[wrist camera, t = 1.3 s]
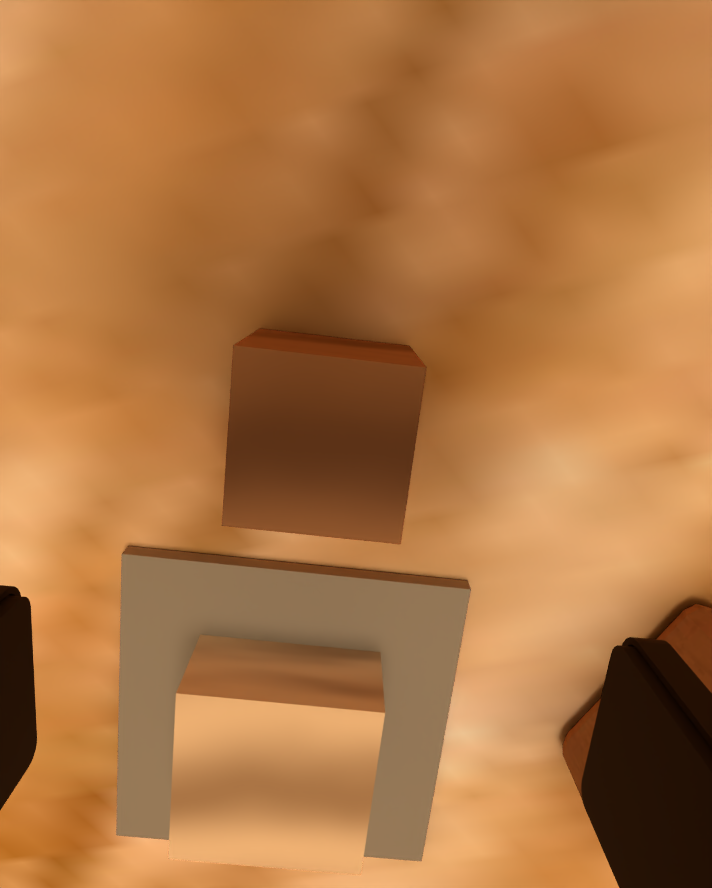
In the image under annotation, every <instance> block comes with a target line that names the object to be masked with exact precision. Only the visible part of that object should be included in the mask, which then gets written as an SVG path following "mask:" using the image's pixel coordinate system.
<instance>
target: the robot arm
mask: <svg viewBox="0 0 712 888" xmlns="http://www.w3.org/2000/svg"><path fill="white" fill-rule="evenodd" d="M36 744H37V730H36V709H35V687H34V666H33V645H32V624H31V606H30V601H29V599H28V598H27V597H21V595H20V592H19V590H18V589H17V588H16V587H14V586H1V585H0V810H1V808H2V807H3V805H4V804H5V802H6V801H7V799H8V798H9V796H10V795H11V793H12V792H13V790H14V789H15V787H16V785H17V784H18V782H19V781H20V779H21V778H22V776H23V775H24V773H25V772H26V770H27V769H28V767H29V765H30V763H31V761H32V759H33V756H34V753H35V750H36ZM581 792H582V799H583V804H584V807H585V809H586V812H587V814H588V816H589V818H590V821H591V823H592V825H593V828H594V830H595V832H596V835H597V837H598V839H599V842H600V844H601V846H602V849H603V851H604V853H605V856H606V858H607V860H608V862H609V865H610V867H611V869H612V872H613V874H614V876H615V879H616V881H617V883H618V886H619V888H712V693H711V692H710V691H709V690H708V688H707V687H706V686H705V685H704V684H703V682H702V681H701V680H700V679H699V678H698V677H697V675H696V674H695V673H694V672H693V671H692V669H691V668H690V667H689V666H688V665H687V664H686V662H685V661H684V660H683V659H682V658H681V657H680V655H679V654H678V653H677V652H676V651H675V649H674V648H673V647H672V646H671V645H670V644H669V643H668V642H667V641H664V640H656V639H644V638H632V637H629V638H627V639H626V640H625V641H624V642H623V644H622V646H618V645H617V646H615V647H614V649H613V650H612V653H611V657H610V661H609V665H608V670H607V674H606V678H605V683H604V687H603V691H602V695H601V700H600V704H599V708H598V713H597V717H596V721H595V725H594V730H593V734H592V738H591V743H590V747H589V751H588V756H587V760H586V764H585V768H584V773H583V777H582V783H581Z"/></svg>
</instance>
